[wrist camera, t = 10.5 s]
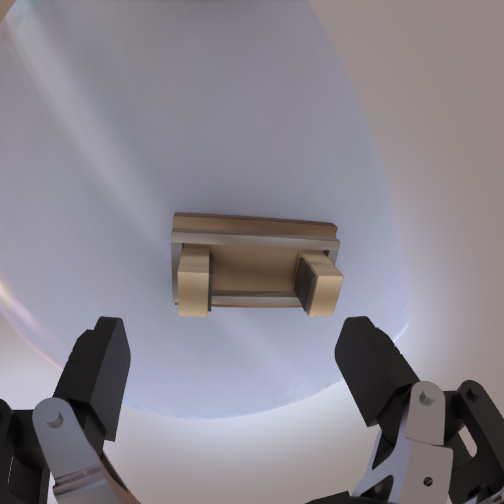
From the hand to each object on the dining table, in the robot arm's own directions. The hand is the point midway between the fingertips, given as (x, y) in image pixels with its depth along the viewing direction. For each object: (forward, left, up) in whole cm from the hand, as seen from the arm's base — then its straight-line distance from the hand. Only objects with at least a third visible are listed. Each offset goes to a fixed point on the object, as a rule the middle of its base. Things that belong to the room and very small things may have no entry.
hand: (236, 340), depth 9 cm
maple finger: (+8, +12, -23) cm, 27 cm away
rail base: (+8, +5, -25) cm, 27 cm away
